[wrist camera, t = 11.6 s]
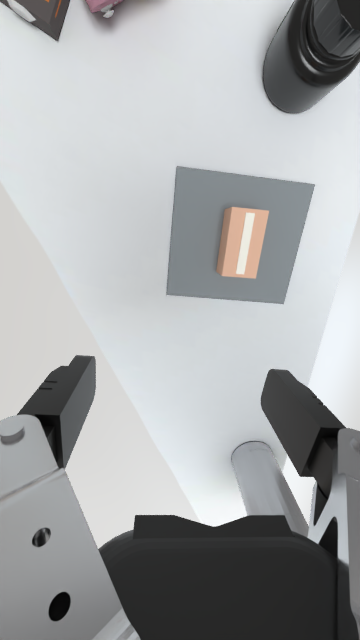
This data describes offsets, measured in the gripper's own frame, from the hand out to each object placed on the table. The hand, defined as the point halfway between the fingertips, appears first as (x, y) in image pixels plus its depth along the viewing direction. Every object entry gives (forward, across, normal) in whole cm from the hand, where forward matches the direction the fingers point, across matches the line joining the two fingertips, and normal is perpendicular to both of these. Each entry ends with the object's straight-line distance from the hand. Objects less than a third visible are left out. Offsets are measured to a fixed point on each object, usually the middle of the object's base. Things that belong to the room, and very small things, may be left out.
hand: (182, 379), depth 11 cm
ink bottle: (+29, -13, -27) cm, 42 cm away
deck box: (+28, -10, -6) cm, 30 cm away
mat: (+28, -10, -6) cm, 31 cm away
